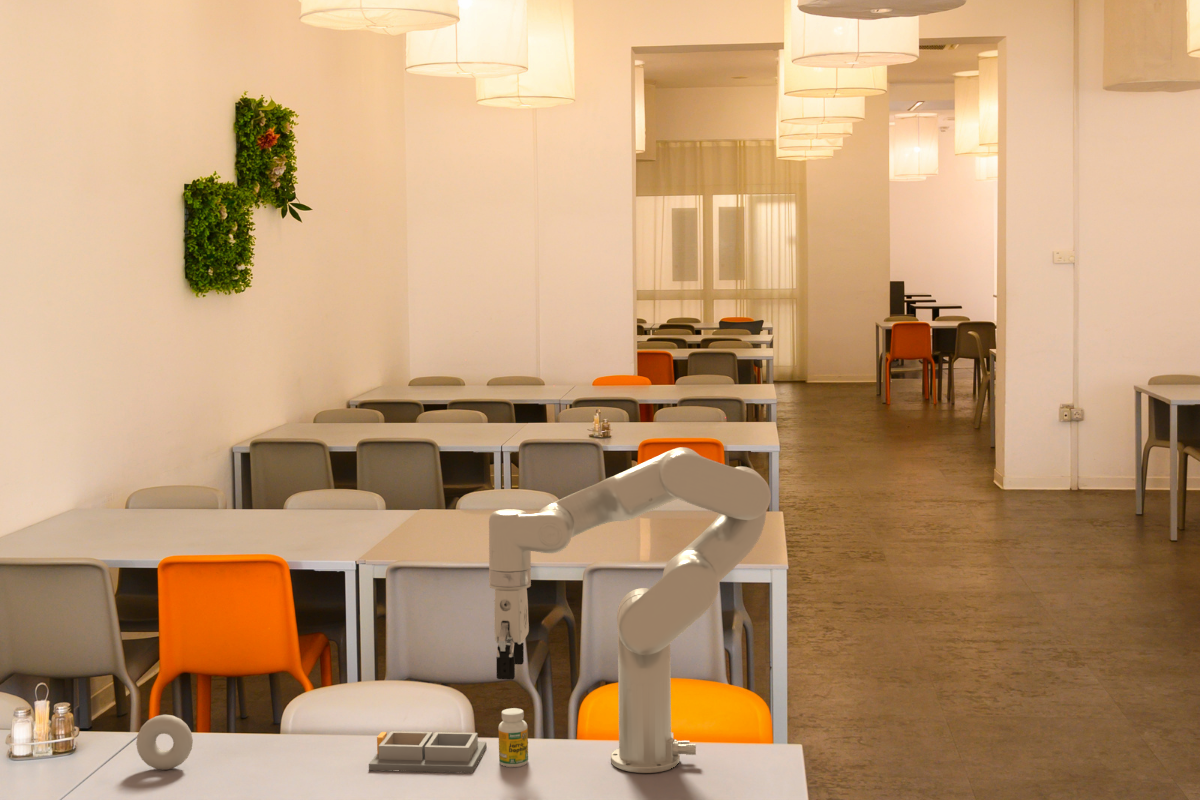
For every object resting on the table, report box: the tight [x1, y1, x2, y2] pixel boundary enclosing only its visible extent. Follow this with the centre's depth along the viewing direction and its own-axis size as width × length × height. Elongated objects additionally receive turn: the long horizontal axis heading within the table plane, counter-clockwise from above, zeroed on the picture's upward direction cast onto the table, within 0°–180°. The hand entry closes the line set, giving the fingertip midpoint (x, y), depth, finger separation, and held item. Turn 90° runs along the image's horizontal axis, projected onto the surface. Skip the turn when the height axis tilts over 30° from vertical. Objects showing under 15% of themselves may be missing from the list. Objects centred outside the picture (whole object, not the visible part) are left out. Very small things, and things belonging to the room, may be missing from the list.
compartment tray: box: [368, 730, 487, 774], centre depth 218 cm, size 19×13×4 cm
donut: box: [135, 714, 194, 771], centre depth 214 cm, size 10×3×10 cm, turn 92°
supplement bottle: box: [497, 707, 529, 768], centre depth 215 cm, size 5×5×10 cm
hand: (510, 671), depth 215 cm, fingers open, 9 cm apart
